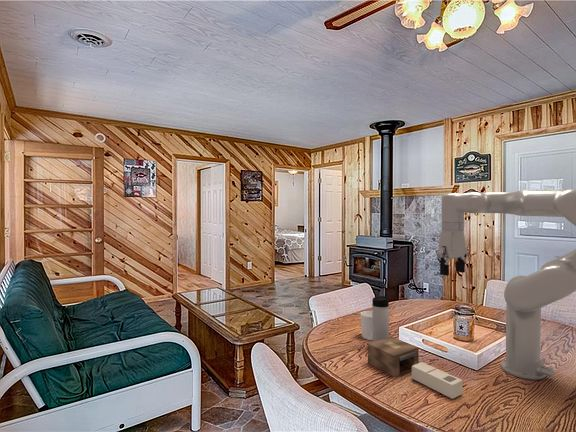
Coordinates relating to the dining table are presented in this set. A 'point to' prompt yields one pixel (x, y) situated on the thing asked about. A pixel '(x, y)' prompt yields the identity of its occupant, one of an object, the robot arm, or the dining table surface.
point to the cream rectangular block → (437, 380)
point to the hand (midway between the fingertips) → (452, 273)
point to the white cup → (366, 324)
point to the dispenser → (392, 355)
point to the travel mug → (380, 318)
